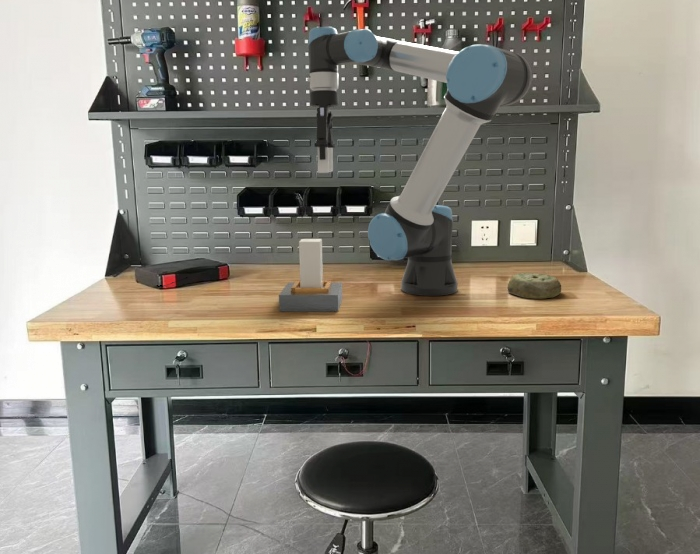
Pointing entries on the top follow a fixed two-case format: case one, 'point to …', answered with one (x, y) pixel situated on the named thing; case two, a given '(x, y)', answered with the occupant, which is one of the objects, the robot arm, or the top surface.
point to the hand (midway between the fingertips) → (325, 172)
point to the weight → (534, 286)
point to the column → (311, 263)
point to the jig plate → (311, 297)
